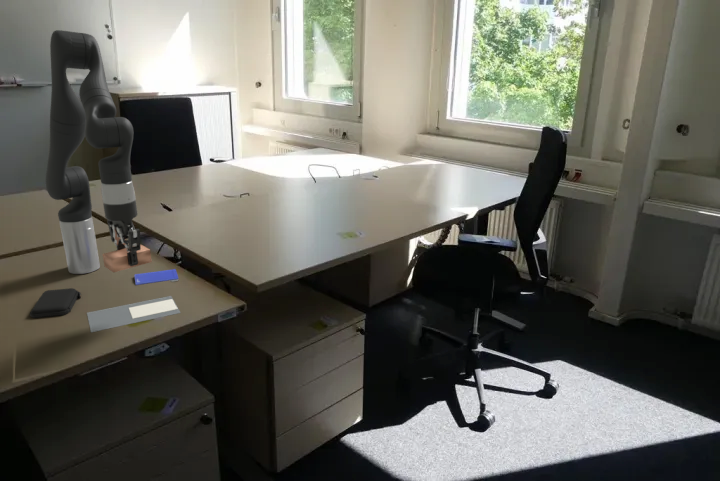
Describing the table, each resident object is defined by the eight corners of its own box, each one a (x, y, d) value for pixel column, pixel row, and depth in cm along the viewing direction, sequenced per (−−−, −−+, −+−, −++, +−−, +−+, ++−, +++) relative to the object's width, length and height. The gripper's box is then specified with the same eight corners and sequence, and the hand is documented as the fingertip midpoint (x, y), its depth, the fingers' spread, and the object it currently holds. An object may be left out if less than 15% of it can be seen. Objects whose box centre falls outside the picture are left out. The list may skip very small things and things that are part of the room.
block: (142, 256, 144) (140, 244, 143) (151, 262, 140) (150, 249, 139) (104, 266, 137) (102, 253, 136) (113, 272, 133) (111, 259, 132)
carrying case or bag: (73, 318, 142) (84, 294, 156) (71, 307, 141) (83, 285, 155) (28, 322, 140) (44, 298, 153) (26, 312, 139) (42, 288, 152)
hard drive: (135, 283, 160) (178, 277, 165) (134, 273, 167) (175, 268, 172) (136, 288, 161) (178, 282, 165) (134, 278, 168) (176, 272, 172)
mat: (87, 314, 143) (86, 312, 143) (171, 297, 154) (171, 295, 154) (91, 334, 134) (90, 331, 134) (180, 314, 144) (180, 312, 144)
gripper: (147, 202, 131) (155, 265, 136) (121, 191, 140) (130, 251, 146) (116, 207, 125) (126, 273, 131) (92, 196, 135) (102, 258, 141)
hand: (128, 261), depth 138 cm, fingers closed on block, 5 cm apart
